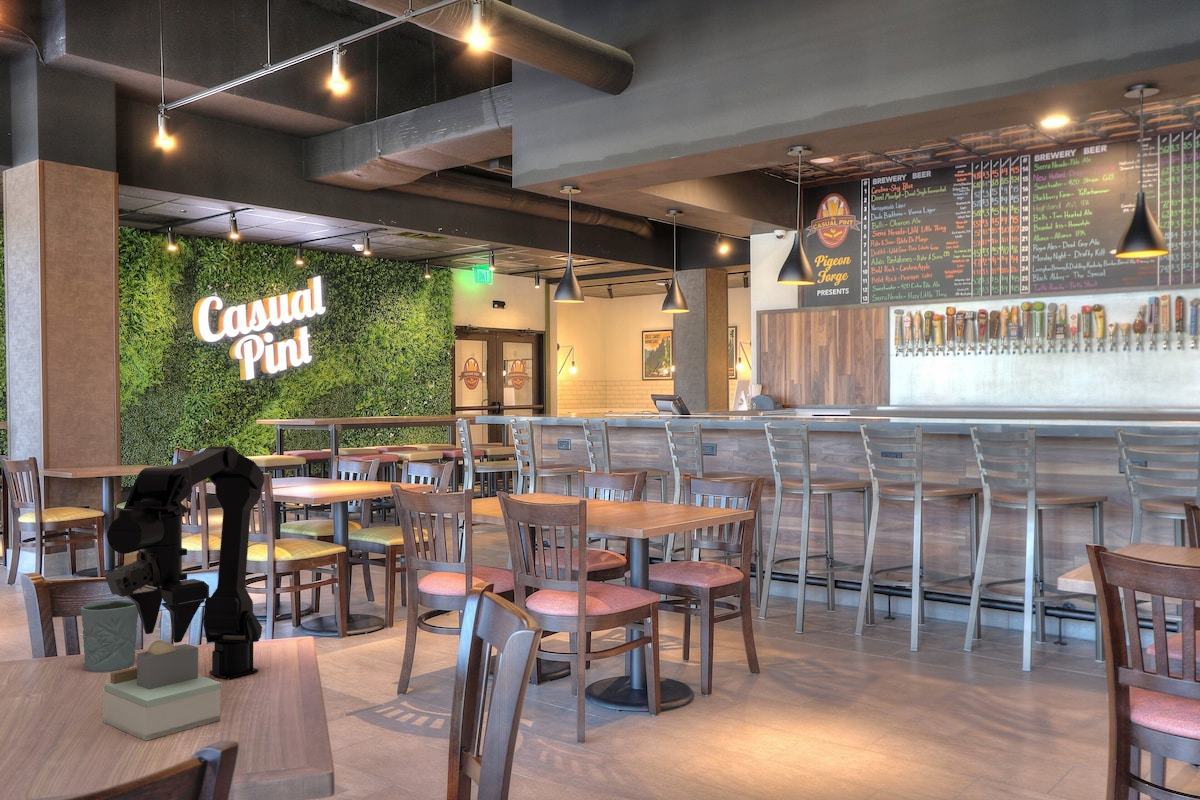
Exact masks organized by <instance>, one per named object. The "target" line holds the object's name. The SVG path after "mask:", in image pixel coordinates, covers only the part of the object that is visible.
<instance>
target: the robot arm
mask: <svg viewBox="0 0 1200 800" xmlns="http://www.w3.org/2000/svg"><path fill="white" fill-rule="evenodd" d="M264 475H265V474H264V472H263V470H262V469H261V468H260V467H259V466H258V464H257V463H256V462H255V461H254V460H252V459H250V458H249V457H247V456H244V455H242V454H240V453H239V452H238V450H237V449H236V448H235V447H232V446H229V445H227V446H226V445H221V446H220V445H212V446H209V447H206V448H205V449H204V450H202V451H200V452H198V453H196V454H194V455H192V456H189V457H187V458H185V459H183V460H181V461H179V462H177V463H175V464H171V465H156V466H149V467H145V468H143V469H141V470H140V471H139V472H138V476H137V477H136V479H135V481H134V483H133V486H132V487H131V490H130V493H129V495H128V496H127V500H126V502H125V504H124V507H123V509H120V510H119V513H118V514H119V516H118V517H117V518H116V519H115V520H113V522H111V523H110V525H109V528H108V530H107V532H106V533H107V534H106V537H107V541H108V544H109V546H110V547H111V549H112V550H114V551H115V552H116V553H118V554H123V555H126V554H131V553H134V552H136V560H135V561H132V562H131V563H128V564H125V565H124V566H121V567H119V568H117V569H115V570H114V571H111V572H109V573H108V574H106V575H105V576H104V578H105V580H106V582H107V585H108V588H109V590H110V593H111V595H113V596H115V595H116V596H119V597H121V598H125V597H126V598H128V600H132V601H133V602H134V603H135V605H136V607H137V610H138V617H139V618H140V621H141V625H142V628H143V630H144V633H145V635H150V634H153V633H154V630H155V627H156V624H157V620H158V617H159V613H160V609H161V606H163V607H164V608H165V610H167V611H168V612H169V618H170V624H171V625H170V626H171V634H172V639H173V643H175V644H178V643H181V642H182V641H183V639H184V637H185V634H186V633H187V631H188V628H189V627H190V625H191V623H192V621H193V618H194V617H195V614H196V613H197V611H198V609H199V608H200V606H201V605H202V603H203V604H204V611H203V612H204V613H203V617H202V624H203V629H204V634H205V638H206V642H207V644H208V643H209V644H211V643H214V648H213V649H214V650H212V652H211V653H212V654H211V656H212V657H211V670H209V674H210V675H213V676H216V677H220V678H222V679H225V680H230V679H234V678H238V677H242V676H246V675H250V674H254V673H257V672H259V669H258V668H255V667H254V643H256V642H259V641H260V639H261V638H262V635H263V634H262V631H263V626H262V624H261V622H260V621H259V619H258V618H257V617H256V614H254V601H253V599H252V598H251V596H250V594H249V592H248V590H247V588H246V582H247V581H246V578H247V577H246V576H247V564H248V551H249V539H250V523H251V512H252V510H253V508H254V507H255V506H256V504H257V503H258V502H259V500H260V499H261V495H262V488H263V486H264V483H265V476H264ZM207 479H208V480H209V481H210V482H211V483H212V484H213V485H214V487H215V489H214V490H215V494H214V495H215V498H216V500H217V501H218V504H219V506H220V508H222V521H221V536H220V537H221V538H220V548H219V549H220V550H219V563H218V575H217V587H216V589H215V590H214V592H213V593H212V594H211V596H210V585H209V584H207V583H206V582H205V581H204V580H199V579H195V578H191V579H189V578H188V573H185V572H183V558H182V557H183V556H187V555H188V549H187V548H185V547H184V548H183V546H182V545H183V544H182V543H183V541H182V539H183V538H182V534H183V533H182V531H183V530H182V523H183V522H182V520H183V519H182V517H183V515H182V514H186V513H188V511H189V509H188V508H187V506H185V505H184V504H183V503H182V502H183V501H184V500H185V499H186V498H187V497H189V496H190V495H191V494H192V493H193V487H194V486H195V485H197V484H199V483H201V482H203V481H205V480H207ZM162 601H163V602H162Z"/></svg>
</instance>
